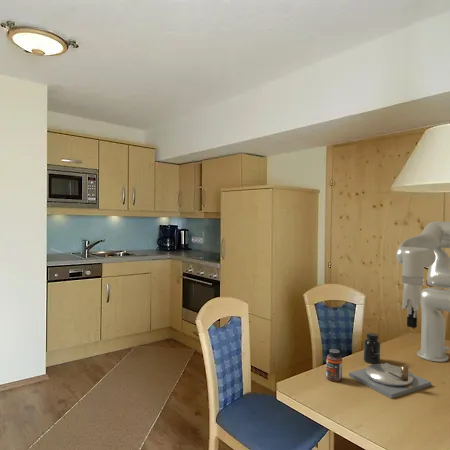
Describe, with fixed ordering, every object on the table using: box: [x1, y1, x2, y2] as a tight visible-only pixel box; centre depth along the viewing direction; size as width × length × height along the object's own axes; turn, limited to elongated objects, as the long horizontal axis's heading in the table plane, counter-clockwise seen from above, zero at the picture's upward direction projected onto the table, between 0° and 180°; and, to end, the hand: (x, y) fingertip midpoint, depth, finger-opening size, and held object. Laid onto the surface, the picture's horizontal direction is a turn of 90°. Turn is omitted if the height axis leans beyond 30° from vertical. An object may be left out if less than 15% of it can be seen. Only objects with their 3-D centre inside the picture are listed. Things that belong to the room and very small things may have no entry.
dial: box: [365, 363, 413, 387], centre depth 144 cm, size 17×17×6 cm
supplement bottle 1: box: [325, 348, 343, 383], centre depth 146 cm, size 6×6×11 cm
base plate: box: [348, 362, 432, 399], centre depth 144 cm, size 22×20×2 cm
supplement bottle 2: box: [363, 332, 381, 364], centre depth 164 cm, size 7×7×12 cm
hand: (411, 326), depth 145 cm, fingers closed
